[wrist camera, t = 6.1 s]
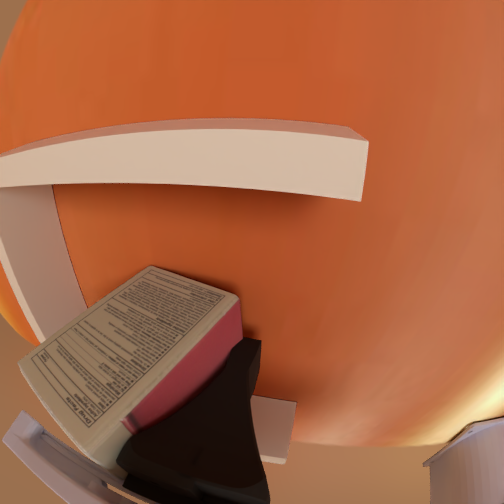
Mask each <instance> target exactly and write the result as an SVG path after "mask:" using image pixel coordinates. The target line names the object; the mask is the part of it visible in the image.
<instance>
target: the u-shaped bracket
mask: <svg viewBox="0 0 504 504" xmlns="http://www.w3.org/2000/svg"><path fill="white" fill-rule="evenodd" d="M368 145H369V141H367V140H366V139H365V138H363V137H362V136H361V135H359V134H358V133H356V132H355V131H353V130H352V129H351V128H349V127H347V126H340V125H332V124H324V123H314V122H304V121H292V120H277V119H254V118H201V119H179V120H164V121H152V122H142V123H133V124H124V125H117V126H110V127H103V128H97V129H91V130H85V131H80V132H75V133H70V134H65V135H60V136H56V137H51V138H47V139H43V140H39V141H35V142H32V143H29V144H26V145H23V146H20V147H18V148H15V149H12V150H10V151H7V152H5V153H2V154H0V260H1V263H2V265H3V268H4V271H5V273H6V275H7V278H8V280H9V283H10V285H11V287H12V289H13V292H14V294H15V296H16V298H17V300H18V302H19V304H20V306H21V308H22V310H23V312H24V314H25V316H26V318H27V320H28V322H29V324H30V326H31V327H32V329H33V331H34V333H35V335H36V336H37V338H38V340H39V341H40V343H43V342H44V341H45V340H46V339H48V338H49V337H50V336H52V335H53V334H54V333H56V332H57V331H58V330H60V329H61V328H62V327H64V326H65V325H66V324H68V323H69V322H70V321H72V320H73V319H74V318H76V317H77V316H79V315H80V314H81V313H83V312H84V311H86V310H87V309H88V308H87V306H86V303H85V301H84V298H83V295H82V293H81V290H80V287H79V284H78V282H77V279H76V276H75V273H74V270H73V267H72V264H71V261H70V257H69V254H68V251H67V247H66V244H65V240H64V237H63V233H62V229H61V225H60V221H59V217H58V213H57V208H56V204H55V199H54V194H53V189H52V184H70V183H155V184H183V185H203V186H220V187H234V188H247V189H259V190H270V191H280V192H290V193H299V194H308V195H316V196H324V197H332V198H340V199H347V200H354V201H361V197H362V191H363V184H364V177H365V170H366V162H367V154H368ZM250 402H251V411H252V419H253V425H254V431H255V436H256V441H257V445H258V450H259V454H260V458H261V461H265V462H272V463H278V464H285V461H286V459H287V455H288V449H289V444H290V439H291V434H292V428H293V423H294V417H295V411H296V405H297V402H292V401H285V400H278V399H272V398H266V397H261V396H255V395H252V397H251V399H250Z"/></svg>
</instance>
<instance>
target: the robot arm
mask: <svg viewBox="0 0 504 504" xmlns="http://www.w3.org/2000/svg"><path fill="white" fill-rule="evenodd" d="M261 341H262V340H256V339H251V338H246V337H243V339H242V340H241V341H239V342H238V343H237V344H236V345H235V346H234V347H233V348H232V349H231V352H230V355H229V358H228V361H227V365H226V367H225V368H224V369H223V370H222V371H221V372H220V374H219V375H218V376H217V377H216V378H215V379H214V380H213V381H212V382H211V383H210V384H209V385H208V386H207V387H206V388H205V389H204V390H203V391H202V392H201V393H199V394H198V395H197V396H196V397H195V398H194V399H192V400H191V401H190V402H189V403H187V404H186V405H185V406H183V407H182V408H181V409H179V410H178V411H177V412H175V413H174V414H172V415H171V416H169V417H168V418H166V419H164V420H163V421H161V422H159V423H158V424H156V425H154V426H152V427H150V428H148V429H146V430H144V431H142V432H140V433H138V434H136V435H134V436H132V437H130V439H129V440H128V441H127V442H126V444H125V445H124V446H123V448H122V450H121V451H120V453H119V455H118V457H117V459H116V463H117V464H118V465H119V466H120V467H121V468H123V469H124V470H125V471H126V472H128V475H127V477H126V479H125V480H120V479H118V478H117V477H115V476H114V475H113V474H111V473H110V472H108V471H107V470H106V469H104V468H103V467H101V466H100V465H98V464H96V463H95V462H93V461H91V460H90V459H88V458H86V457H84V456H83V455H81V454H80V453H78V452H77V451H75V450H74V449H72V448H71V447H69V446H68V445H66V444H65V443H63V442H62V441H60V440H59V439H58V438H56V437H55V436H54V435H52V434H51V433H49V432H48V431H47V430H45V429H44V427H43V426H42V425H41V424H40V423H38V422H37V421H36V420H35V419H34V418H33V417H31V416H30V415H29V414H28V413H27V412H25V411H24V410H22V411H21V413H20V414H19V415H18V417H17V418H16V420H15V421H14V423H13V424H12V425H11V427H10V428H9V430H8V431H7V433H6V434H5V436H4V437H3V439H2V441H3V442H4V443H5V444H6V445H7V446H8V447H9V448H10V449H11V450H12V451H13V452H14V453H15V454H16V456H17V457H19V458H20V460H21V461H22V462H23V463H24V464H25V465H27V467H28V468H29V469H30V470H31V471H32V472H33V473H34V474H35V475H36V476H38V477H39V478H40V479H41V480H42V481H43V482H44V483H45V484H46V485H47V486H48V487H49V488H50V489H52V490H53V491H54V492H55V493H56V494H57V495H59V496H60V497H61V498H63V500H65V501H66V502H67V503H68V504H137V503H135V502H133V501H131V500H129V499H127V498H125V497H123V496H121V495H119V494H117V493H116V492H114V491H112V490H110V489H108V487H107V483H108V484H110V485H112V486H114V487H116V488H117V489H119V490H121V491H123V492H125V493H127V494H129V495H131V496H134V497H136V498H138V499H140V500H142V501H144V502H147V503H149V504H270V495H269V489H268V484H267V479H266V475H265V471H264V468H263V465H262V461H261V458H260V454H259V450H258V445H257V441H256V436H255V431H254V425H253V419H252V411H251V402H250V399H251V397H252V394H253V391H254V389H255V385H256V381H257V377H258V373H259V369H260V356H261ZM425 466H430V495H431V496H430V499H431V500H430V504H504V417H503V418H498V419H494V420H489V421H484V422H478V423H474V424H472V425H470V426H469V427H468V428H467V429H465V430H464V431H463V432H462V433H461V434H460V435H459V436H457V437H456V438H455V439H454V440H453V441H451V442H450V443H449V444H448V445H446V446H445V447H444V448H443V449H441V450H440V451H439V452H437V453H436V454H435V455H434V456H432V457H431V458H429V459H428V460H427V461H425V462H424V463H423V467H425Z"/></svg>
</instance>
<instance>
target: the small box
mask: <svg viewBox="0 0 504 504" xmlns="http://www.w3.org/2000/svg"><path fill="white" fill-rule="evenodd" d="M242 339H243V332H242V319H241V309H240V299H239V298H238V296H236V295H235V294H232V293H229V292H226V291H223V290H221V289H218V288H215V287H212V286H209V285H206V284H203V283H200V282H198V281H195V280H192V279H189V278H186V277H183V276H180V275H178V274H175V273H172V272H169V271H166V270H163V269H160V268H157V267H154V266H148V267H147V268H145V269H144V270H142V271H141V272H139V273H138V274H136V275H135V276H134V277H132V278H131V279H129V280H128V281H126V282H125V283H124V284H122V285H120V286H119V287H118V288H116V289H115V290H113V291H112V292H110V293H109V294H108V295H106V296H105V297H103V298H102V299H101V300H99V301H98V302H96V303H95V304H94V305H92V306H91V307H90V308H88V309H87V310H86V311H84V312H83V313H81V314H80V315H79V316H77V317H76V318H74V319H73V320H72V321H70V322H69V323H68V324H66V325H65V326H64V327H62V328H61V329H60V330H58V331H57V332H56V333H54V334H53V335H52V336H50V337H49V338H48V339H46V340H45V341H44V342H43V343H41V344H40V345H39V346H37V347H36V348H35V349H34V350H32V351H31V352H30V353H28V354H27V355H26V356H25V357H23V358H22V359H21V360H20V361H18V365H19V366H20V370H21V372H22V374H23V376H24V377H25V379H26V380H27V382H28V384H29V385H30V387H31V388H32V390H33V391H34V393H35V394H36V396H37V397H38V398H39V400H40V401H41V403H42V404H43V406H44V407H45V408H46V410H47V411H48V412H49V414H50V415H51V416H52V417H53V419H54V420H55V421H56V423H57V424H58V425H59V426H60V427H61V429H62V430H63V431H64V432H65V433H66V435H68V437H69V438H70V439H71V440H72V442H73V443H74V444H75V445H76V446H77V447H78V448H79V449H80V450H81V451H82V452H83V453H84V454H85V455H86V456H88V457H89V458H90V459H92V460H93V461H94V462H96V463H97V464H99V465H100V466H101V467H103V468H104V469H106V470H107V471H108V472H110V473H111V474H113V475H114V476H115V477H117V478H118V479H120V480H125V479H126V477H127V475H128V472H126V471H125V470H124V469H123V468H121V467H120V466H119V465H118V464H117V463H116V459H117V457H118V455H119V453H120V451H121V450H122V448H123V446H124V445H125V444H126V442H127V441H128V440H129V439H130V437H132V436H134V435H136V434H138V433H140V432H142V431H144V430H146V429H148V428H150V427H152V426H154V425H156V424H158V423H159V422H161V421H163V420H164V419H166V418H168V417H169V416H171V415H172V414H174V413H175V412H177V411H178V410H179V409H181V408H182V407H183V406H185V405H186V404H187V403H189V402H190V401H191V400H192V399H194V398H195V397H196V396H197V395H198V394H199V393H201V392H202V391H203V390H204V389H205V388H206V387H207V386H208V385H209V384H210V383H211V382H212V381H213V380H214V379H215V378H216V377H217V376H218V375H219V374H220V372H221V371H222V370H223V369H224V368H225V367H226V365H227V361H228V358H229V355H230V352H231V349H232V348H233V347H234V346H235V345H236V344H237V343H238V342H239V341H241V340H242Z"/></svg>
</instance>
